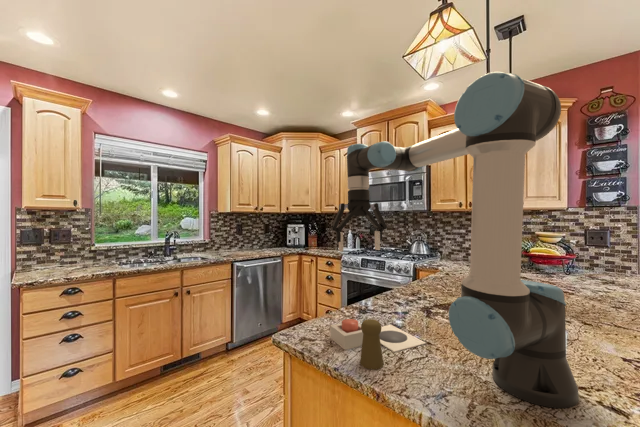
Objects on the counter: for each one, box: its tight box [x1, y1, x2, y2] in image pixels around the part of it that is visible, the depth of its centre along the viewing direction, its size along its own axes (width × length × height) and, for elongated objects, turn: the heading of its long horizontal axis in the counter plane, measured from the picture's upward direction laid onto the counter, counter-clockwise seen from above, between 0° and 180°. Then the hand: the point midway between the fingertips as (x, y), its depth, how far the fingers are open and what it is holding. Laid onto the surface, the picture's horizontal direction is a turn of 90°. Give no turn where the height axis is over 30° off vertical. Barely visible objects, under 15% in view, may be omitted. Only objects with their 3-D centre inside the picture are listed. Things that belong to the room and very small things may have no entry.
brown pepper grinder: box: [359, 318, 385, 371], centre depth 73 cm, size 6×6×11 cm
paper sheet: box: [379, 324, 427, 353], centre depth 89 cm, size 16×12×1 cm
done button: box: [341, 318, 359, 333], centre depth 87 cm, size 5×5×3 cm
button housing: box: [329, 322, 363, 351], centre depth 87 cm, size 9×9×4 cm
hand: (359, 250), depth 99 cm, fingers open, 13 cm apart
